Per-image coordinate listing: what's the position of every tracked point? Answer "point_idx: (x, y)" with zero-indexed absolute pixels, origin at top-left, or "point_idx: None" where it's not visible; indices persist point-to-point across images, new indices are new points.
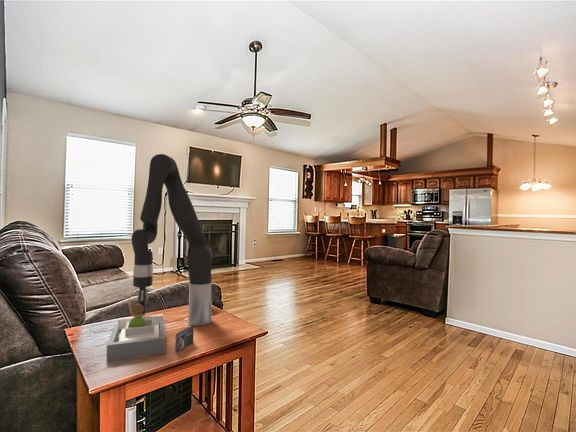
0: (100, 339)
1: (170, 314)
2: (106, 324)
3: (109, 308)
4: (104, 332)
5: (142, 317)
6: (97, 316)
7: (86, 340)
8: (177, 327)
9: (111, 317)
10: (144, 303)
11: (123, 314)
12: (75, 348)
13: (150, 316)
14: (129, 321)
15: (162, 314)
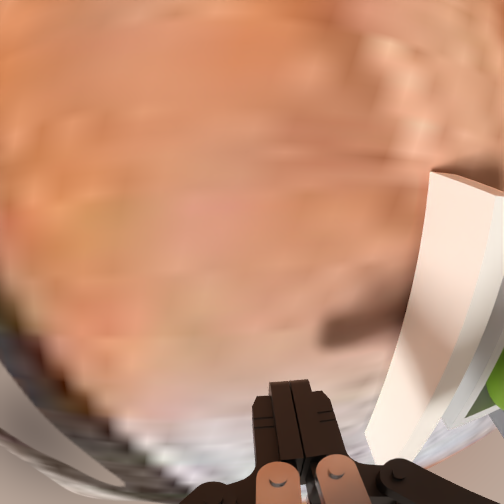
0: (440, 435)
1: (87, 89)
2: (248, 474)
3: (10, 446)
4: (369, 454)
5: (462, 378)
6: (116, 487)
7: (417, 461)
8: (500, 73)
9: (131, 465)
10: (449, 485)
11: (76, 429)
12: (458, 452)
13: (485, 323)
14: (459, 420)
15: (497, 204)
